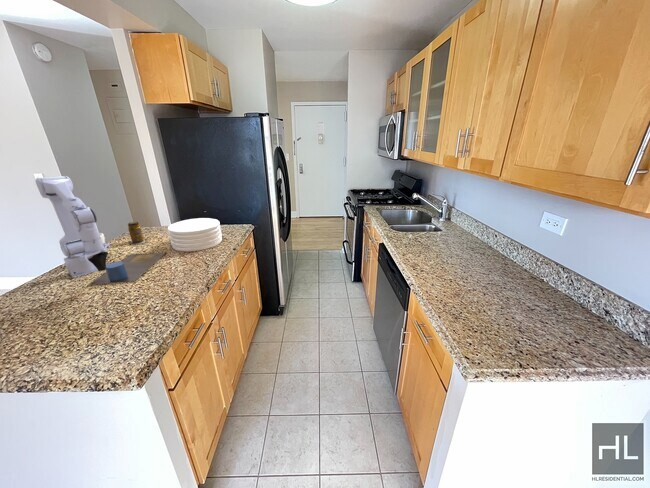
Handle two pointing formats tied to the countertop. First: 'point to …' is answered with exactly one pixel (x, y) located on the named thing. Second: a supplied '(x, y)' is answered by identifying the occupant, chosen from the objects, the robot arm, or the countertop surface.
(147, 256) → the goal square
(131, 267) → the board
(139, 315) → the countertop surface
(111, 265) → the can
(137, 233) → the condiment
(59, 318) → the countertop surface
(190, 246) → the plate stack
